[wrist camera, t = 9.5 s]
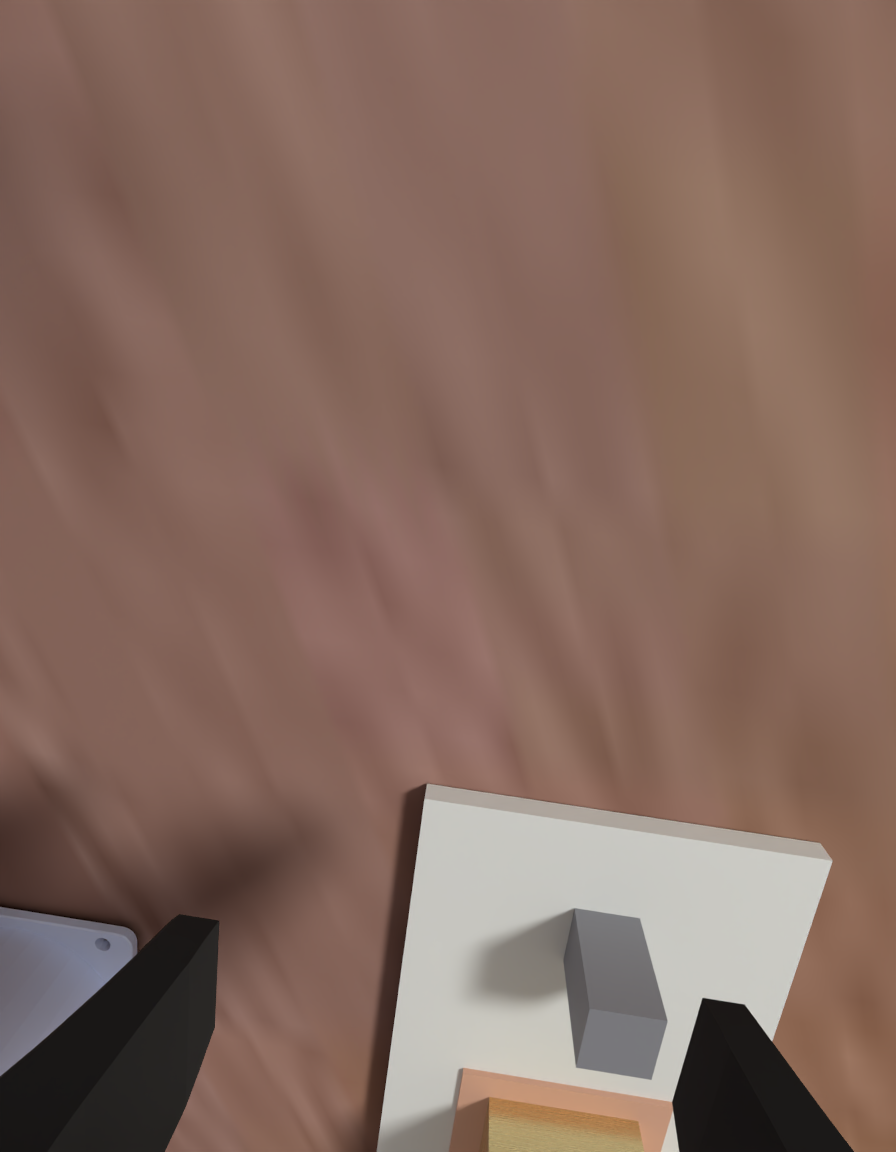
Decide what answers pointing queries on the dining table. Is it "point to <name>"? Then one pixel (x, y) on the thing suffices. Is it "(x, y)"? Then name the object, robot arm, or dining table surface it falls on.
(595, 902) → the board
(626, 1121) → the sleeve
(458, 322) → the dining table surface
